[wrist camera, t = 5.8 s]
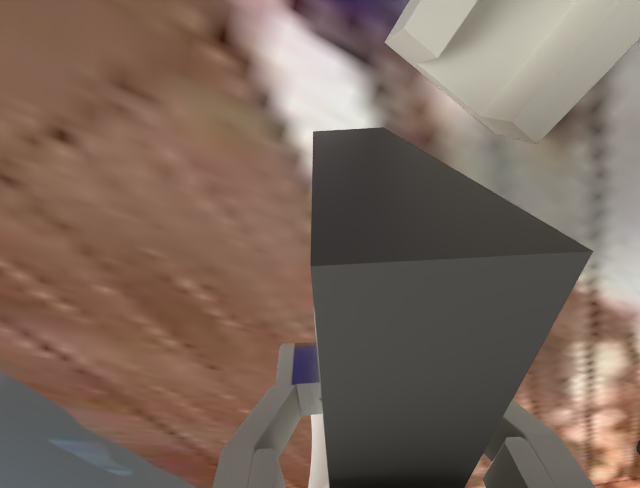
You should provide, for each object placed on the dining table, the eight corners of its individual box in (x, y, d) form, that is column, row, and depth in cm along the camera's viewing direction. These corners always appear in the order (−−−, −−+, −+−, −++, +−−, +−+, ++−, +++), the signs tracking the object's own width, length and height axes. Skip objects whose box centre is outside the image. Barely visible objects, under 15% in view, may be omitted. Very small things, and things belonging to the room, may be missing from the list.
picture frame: (324, 348, 19) (334, 576, 10) (311, 131, 12) (301, 266, 3) (371, 346, 19) (420, 572, 10) (385, 127, 11) (601, 250, 3)
